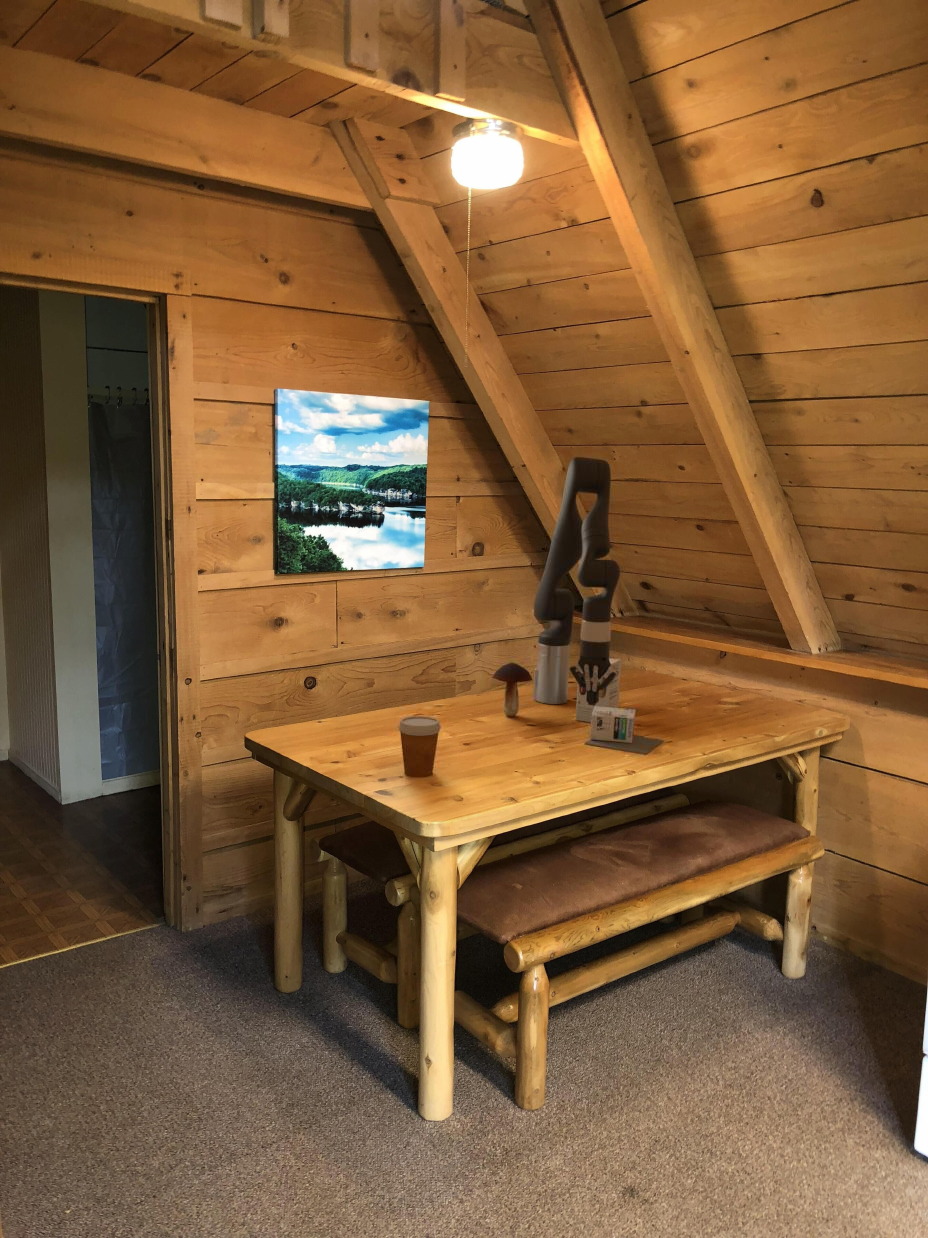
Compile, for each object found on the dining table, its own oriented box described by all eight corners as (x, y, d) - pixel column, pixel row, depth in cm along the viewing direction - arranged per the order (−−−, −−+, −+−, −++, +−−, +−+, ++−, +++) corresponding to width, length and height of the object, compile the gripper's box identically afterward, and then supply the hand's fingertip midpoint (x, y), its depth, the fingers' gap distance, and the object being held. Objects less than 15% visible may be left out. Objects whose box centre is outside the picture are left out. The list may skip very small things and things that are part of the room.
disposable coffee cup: (439, 766, 228) (440, 715, 226) (439, 780, 218) (441, 727, 217) (397, 766, 227) (398, 715, 226) (396, 779, 218) (397, 726, 216)
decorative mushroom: (486, 712, 278) (488, 659, 276) (523, 710, 281) (525, 658, 279) (497, 722, 268) (499, 667, 266) (536, 720, 271) (538, 666, 269)
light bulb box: (589, 740, 252) (632, 744, 250) (591, 714, 251) (634, 718, 249) (592, 729, 262) (634, 733, 260) (594, 704, 261) (636, 708, 259)
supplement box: (574, 720, 272) (577, 660, 270) (586, 713, 280) (589, 654, 278) (607, 725, 268) (610, 664, 265) (618, 718, 276) (622, 658, 273)
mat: (584, 744, 250) (584, 742, 249) (604, 731, 262) (604, 730, 262) (645, 754, 242) (645, 753, 242) (663, 741, 254) (663, 740, 254)
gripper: (625, 638, 252) (621, 705, 255) (577, 633, 258) (574, 698, 261) (614, 643, 245) (611, 711, 248) (565, 637, 252) (562, 704, 254)
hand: (592, 704), depth 255 cm, fingers closed
